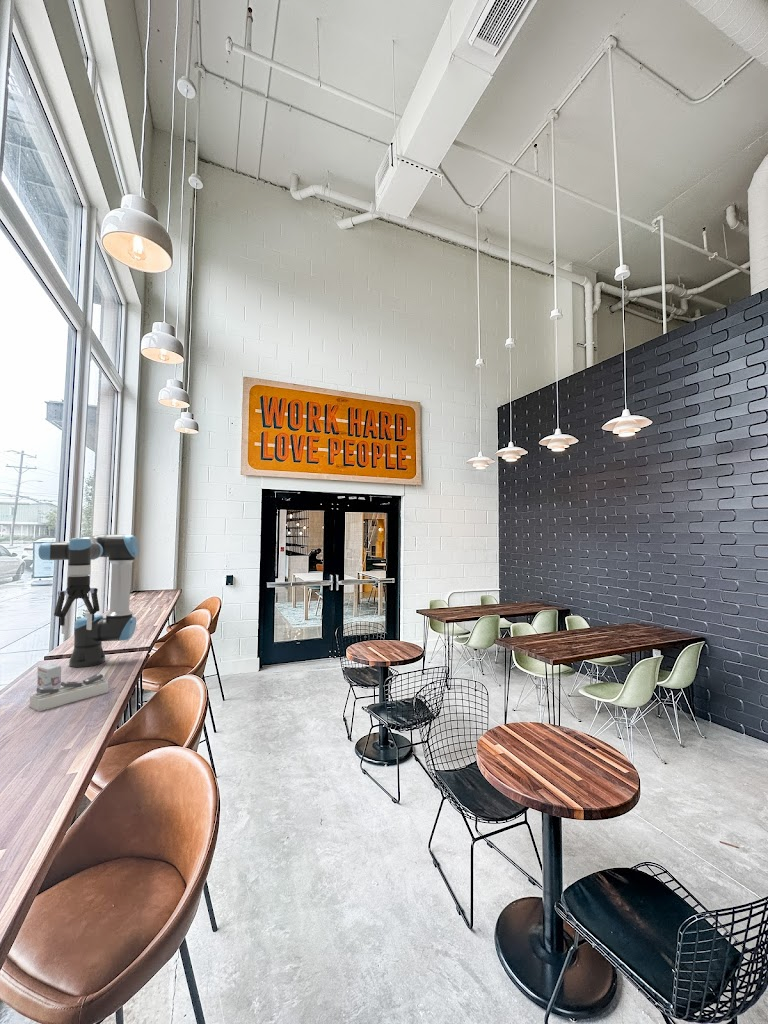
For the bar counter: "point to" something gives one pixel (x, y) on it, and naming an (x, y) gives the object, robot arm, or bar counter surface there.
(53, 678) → the ink box
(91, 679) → the rocker
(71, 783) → the bar counter surface
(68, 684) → the rocker
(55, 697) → the rocker switch panel
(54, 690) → the rocker
